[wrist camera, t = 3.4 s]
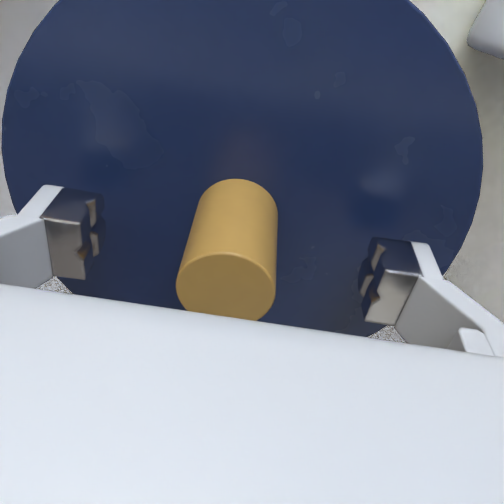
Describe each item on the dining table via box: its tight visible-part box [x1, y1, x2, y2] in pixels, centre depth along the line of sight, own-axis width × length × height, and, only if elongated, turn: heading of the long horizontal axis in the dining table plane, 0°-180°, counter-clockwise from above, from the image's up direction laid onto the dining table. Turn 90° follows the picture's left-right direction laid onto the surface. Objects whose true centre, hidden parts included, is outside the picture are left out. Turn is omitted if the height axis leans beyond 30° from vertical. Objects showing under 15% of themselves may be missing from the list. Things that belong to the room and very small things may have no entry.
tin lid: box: [2, 0, 483, 337], centre depth 13 cm, size 14×14×5 cm
